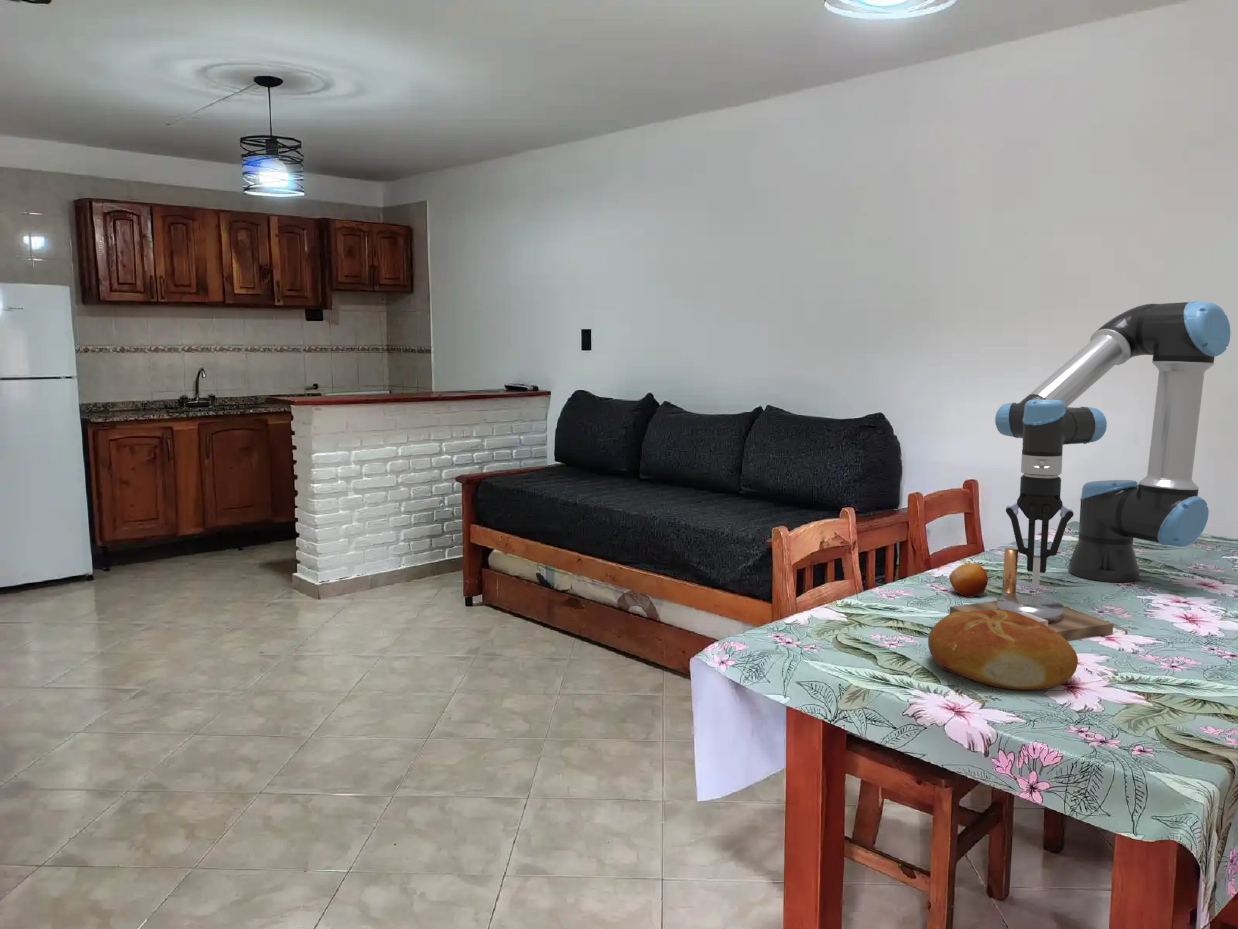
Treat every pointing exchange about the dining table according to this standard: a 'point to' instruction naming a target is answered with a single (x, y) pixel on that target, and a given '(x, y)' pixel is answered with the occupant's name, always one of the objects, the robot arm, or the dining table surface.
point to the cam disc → (1020, 602)
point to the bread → (1002, 649)
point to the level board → (1067, 627)
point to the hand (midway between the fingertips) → (1035, 587)
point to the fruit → (969, 579)
